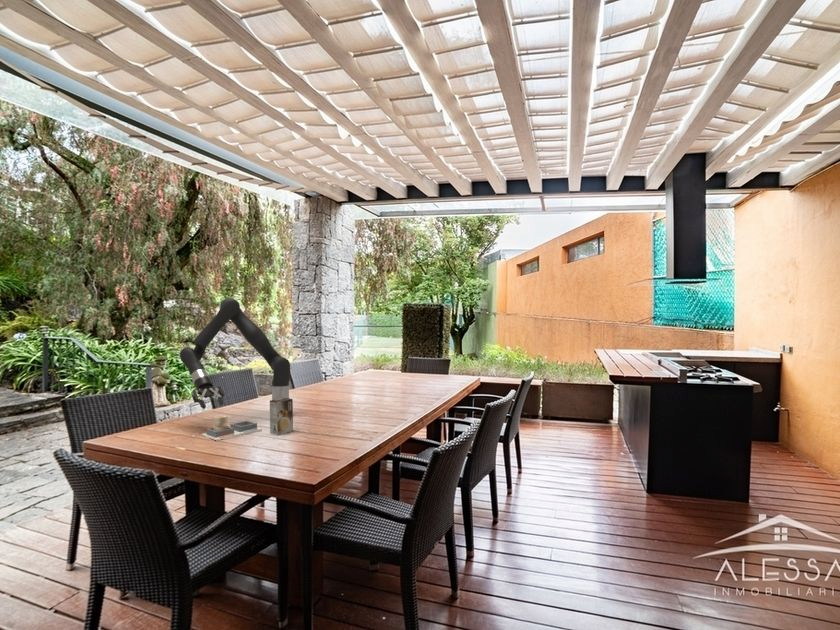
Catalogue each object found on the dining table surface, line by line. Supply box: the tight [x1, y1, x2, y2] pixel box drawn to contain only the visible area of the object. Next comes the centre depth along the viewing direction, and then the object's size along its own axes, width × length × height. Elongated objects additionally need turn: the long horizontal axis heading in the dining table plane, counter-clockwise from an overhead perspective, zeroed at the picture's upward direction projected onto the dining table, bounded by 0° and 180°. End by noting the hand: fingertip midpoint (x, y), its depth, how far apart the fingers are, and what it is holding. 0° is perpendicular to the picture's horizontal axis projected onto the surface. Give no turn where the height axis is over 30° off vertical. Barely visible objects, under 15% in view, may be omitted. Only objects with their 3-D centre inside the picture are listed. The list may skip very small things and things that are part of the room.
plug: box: [213, 415, 228, 431], centre depth 214 cm, size 4×4×8 cm
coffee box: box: [269, 397, 294, 436], centre depth 220 cm, size 9×6×16 cm
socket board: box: [201, 420, 262, 441], centre depth 218 cm, size 23×14×4 cm, turn 142°
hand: (213, 406), depth 217 cm, fingers open, 8 cm apart
